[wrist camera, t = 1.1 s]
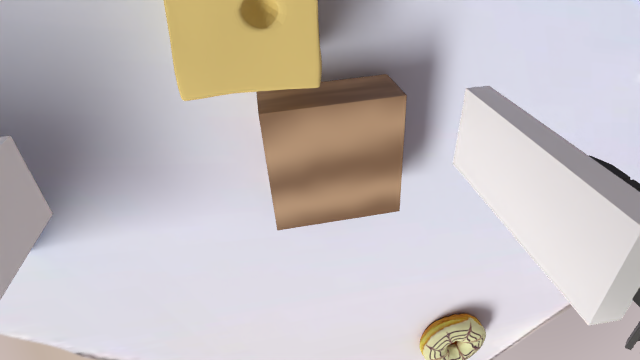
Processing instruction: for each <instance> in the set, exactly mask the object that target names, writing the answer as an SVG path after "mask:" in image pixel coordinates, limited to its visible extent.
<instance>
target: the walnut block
mask: <svg viewBox="0 0 640 360" xmlns="http://www.w3.org/2000/svg"><path fill="white" fill-rule="evenodd" d="M406 97H407V95H406V94H405V93H404V92H403V91H402V90H401V89H400V88H399V87H398V85H397V84H396V83H395V82H394V81H393V80H392V79H391V78H390V77H389V76H388V75H387V74H383V75H375V76H367V77H359V78H350V79H342V80H334V81H325V82H320V87H318V88H302V89H285V90H271V91H257V103H258V113H259V120H260V126H261V132H262V138H263V144H264V151H265V157H266V163H267V169H268V175H269V181H270V187H271V194H272V200H273V206H274V212H275V218H276V224H277V230H283V229H289V228H295V227H302V226H308V225H314V224H321V223H327V222H333V221H340V220H346V219H352V218H359V217H365V216H371V215H377V214H384V213H390V212H396V211H399V209H400V193H401V177H402V161H403V145H404V129H405V113H406Z"/></svg>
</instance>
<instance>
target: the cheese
mask: <svg viewBox="0 0 640 360" xmlns="http://www.w3.org/2000/svg"><path fill="white" fill-rule="evenodd" d="M164 6H165V12H166V17H167V23H168V29H169V35H170V42H171V49H172V57H173V64H174V70H175V75H176V80H177V84H178V88H179V92H180V95H181V98H182V100H184V101H188V100H196V99H202V98H208V97H214V96H220V95H226V94H232V93H243V92H257V91H271V90H285V89H302V88H318V87H320V82H321V74H322V60H321V51H320V42H319V24H318V0H164Z"/></svg>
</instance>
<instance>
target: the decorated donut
mask: <svg viewBox="0 0 640 360" xmlns="http://www.w3.org/2000/svg"><path fill="white" fill-rule="evenodd" d="M485 337H486V332H485V329H484V327H483V326H482V325H481V323H480V322H479V320H478V319H477V318H476V317H474V316H472V315H469V314H459V315H457V314H454V315H452V316H449V317H444V318H443V319H440V320H437V321H435V322H434V323H432V324H431V325H430V326H429V327H428V328H427V329H426V330H425V331H424V333H423V335H422V337H421V339H420V350H421V352H422V354H423V356H424V358H425V359H426V360H466V359H468V358H470V357H471V356H472V355H473V354H474V353H476V352H477V351H478V350H479V349H480V347H481V346H482V344H483V342H484V340H485Z"/></svg>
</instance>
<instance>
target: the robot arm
mask: <svg viewBox="0 0 640 360" xmlns="http://www.w3.org/2000/svg"><path fill="white" fill-rule="evenodd" d="M453 165H454V166H455V167H456V168H457V169H458V171H459V172H460V173H461V174H462V175H463V177H464V178H465V179H466V180H467V181H468V183H469V184H470V185H471V186H472V187H473V188H474V190H475V191H476V192H477V193H478V194H479V196H480V197H481V198H482V199H483V200H484V202H485V203H486V204H487V205H488V206H489V208H490V209H491V210H492V211H493V212H494V214H495V215H496V216H497V217H498V218H499V219H500V221H501V222H502V223H503V224H504V225H505V227H506V228H507V229H508V230H509V231H510V233H511V234H512V235H513V236H514V237H515V239H516V240H517V241H518V242H519V243H520V244H521V246H522V247H523V248H524V249H525V250H526V252H527V253H528V254H529V255H530V256H531V258H532V259H533V260H534V261H535V262H536V264H537V265H538V266H539V267H540V268H541V270H542V271H543V272H544V273H545V274H546V275H547V277H548V278H549V279H550V280H551V281H552V283H553V284H554V285H555V286H556V287H557V289H558V290H559V291H560V292H561V293H562V295H563V296H564V297H565V298H566V299H567V301H568V302H569V303H570V304H571V305H572V306H573V308H574V309H575V310H576V311H577V312H578V314H579V315H580V316H581V317H582V318H583V320H584V321H585V322H586V323H587V324H588V325H589V326H590V325H595V324H601V323H606V322H612V321H617V320H621V319H622V317H623V316H624V314H625V313H626V311H627V309H628V308H629V306H630V305H631V303H632V301H634V302H635V303H636V304H637V305H638V306H639V307H640V184H639V183H638V182H636V181H635V180H630V177H629V176H628V175H626V174H625V173H623V172H622V171H620V170H619V169H617V168H616V167H615V166H613V165H611V164H609V163H606V162H604V161H602V160H599V159H597V158H595V157H592V156H590V155H589V156H588V155H587V154H585V153H584V152H582V151H581V150H579V149H578V148H577V147H575V146H574V145H572V144H571V143H569V142H568V141H567V140H565V139H564V138H562V137H561V136H560V135H558V134H557V133H555V132H554V131H552V130H551V129H550V128H548V127H547V126H545V125H544V124H543V123H541V122H540V121H538V120H537V119H535V118H534V117H533V116H531V115H530V114H528V113H527V112H526V111H524V110H523V109H521V108H520V107H518V106H517V105H516V104H514V103H513V102H511V101H510V100H509V99H507V98H506V97H504V96H503V95H501V94H500V93H499V92H497V91H496V90H494V89H493V88H492V87H490V86H483V87H473V88H466V91H465V97H464V102H463V108H462V114H461V119H460V125H459V131H458V136H457V142H456V148H455V153H454V159H453ZM52 215H53V213H52V212H51V210H50V208H49V206H48V204H47V202H46V200H45V199H44V197H43V195H42V193H41V191H40V189H39V187H38V186H37V184H36V182H35V180H34V178H33V176H32V174H31V173H30V171H29V169H28V167H27V165H26V163H25V161H24V160H23V158H22V156H21V154H20V152H19V150H18V148H17V147H16V145H15V143H14V141H13V139H12V137H11V135H10V136H1V137H0V299H1V298H2V296H3V295H4V293H5V291H6V290H7V288H8V286H9V285H10V283H11V281H12V280H13V278H14V277H15V275H16V273H17V272H18V270H19V268H20V267H21V265H22V264H23V262H24V260H25V259H26V257H27V255H28V254H29V252H30V250H31V249H32V247H33V246H34V244H35V242H36V241H37V239H38V237H39V236H40V234H41V233H42V231H43V229H44V228H45V226H46V224H47V223H48V221H49V220H50V218H51V216H52ZM637 341H640V322H639V323H638V325H637V326H636V328H635V329H634V331H633V332H632V334H631V335H630V337H629V338H628V340H627V342H626V346H625V348H627V349H630V350H631V349H632V348H633V346H634V345H635V344H636V342H637Z"/></svg>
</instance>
